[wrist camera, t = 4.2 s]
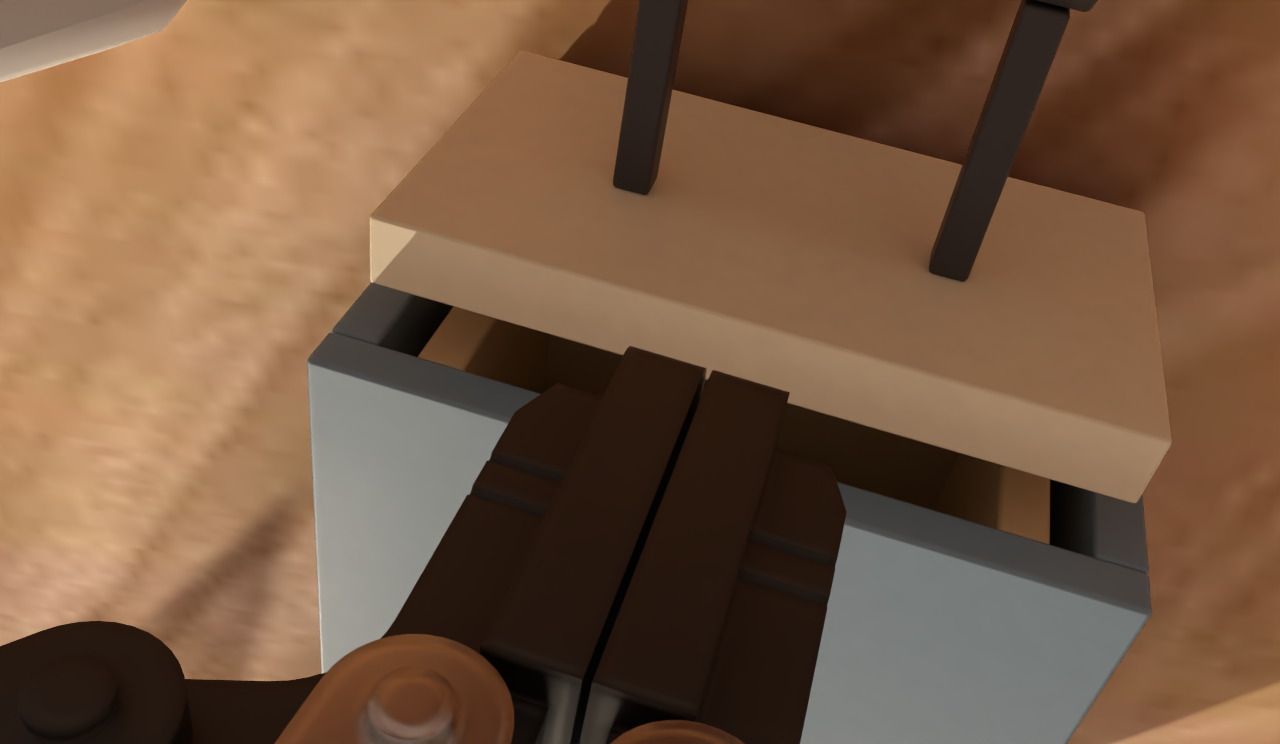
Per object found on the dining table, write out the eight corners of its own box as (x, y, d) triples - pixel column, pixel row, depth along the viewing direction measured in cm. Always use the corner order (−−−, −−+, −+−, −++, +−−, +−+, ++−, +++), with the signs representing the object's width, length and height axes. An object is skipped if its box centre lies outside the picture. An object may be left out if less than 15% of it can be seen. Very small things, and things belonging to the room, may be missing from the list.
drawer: (550, -304, 18) (366, -220, 13) (1313, -135, 17) (1417, 28, 12) (479, 542, 30) (369, 747, 25) (917, 681, 29) (890, 924, 24)
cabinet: (499, 126, 24) (304, 358, 18) (1127, 295, 22) (1154, 614, 16) (463, 593, 33) (328, 854, 27) (907, 735, 32) (871, 1046, 25)
